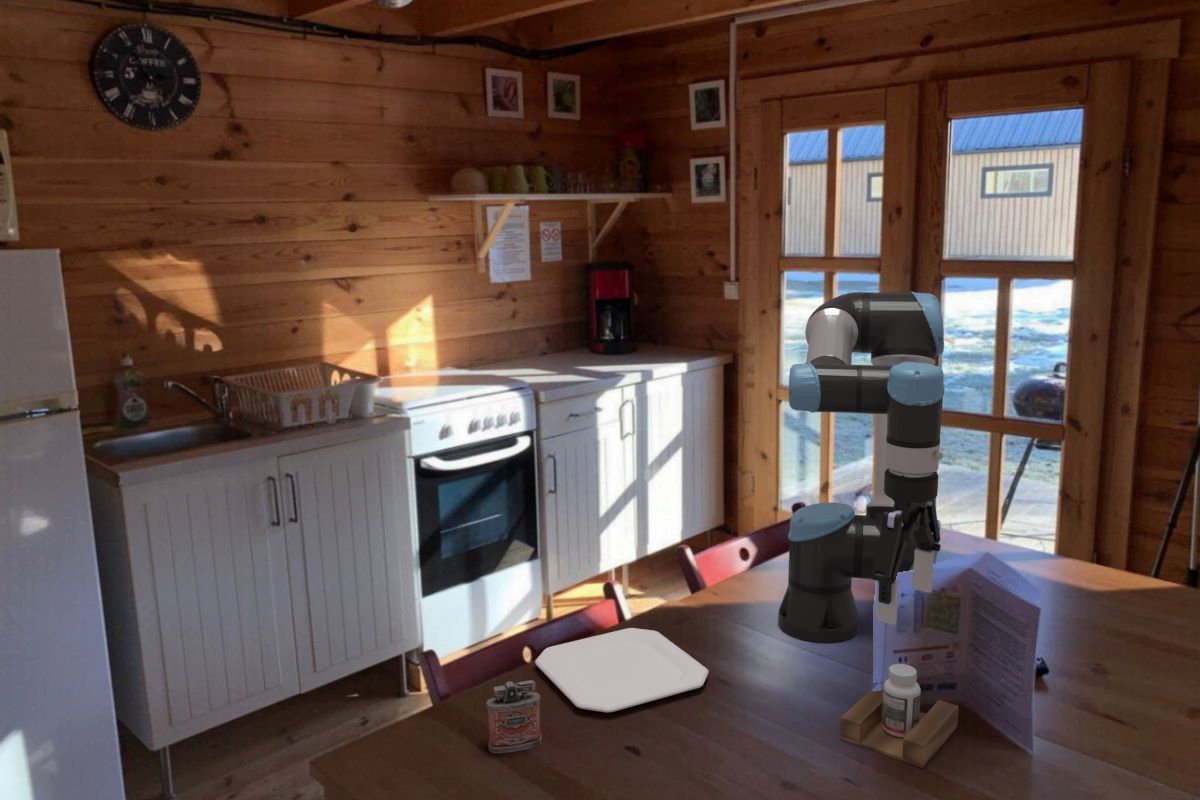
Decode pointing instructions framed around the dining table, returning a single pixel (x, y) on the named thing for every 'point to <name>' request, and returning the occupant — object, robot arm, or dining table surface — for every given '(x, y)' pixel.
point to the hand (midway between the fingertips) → (904, 605)
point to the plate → (620, 669)
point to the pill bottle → (901, 700)
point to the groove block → (914, 749)
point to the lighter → (514, 717)
